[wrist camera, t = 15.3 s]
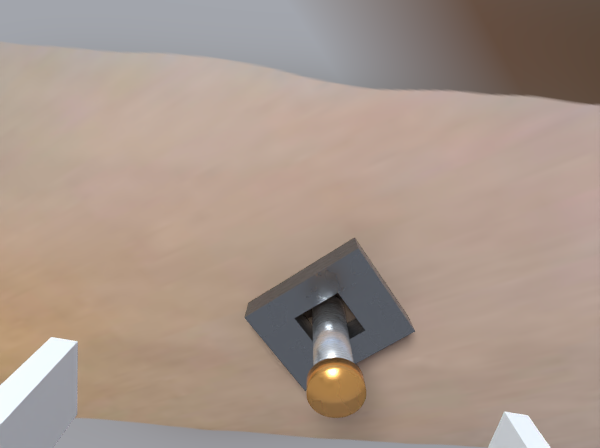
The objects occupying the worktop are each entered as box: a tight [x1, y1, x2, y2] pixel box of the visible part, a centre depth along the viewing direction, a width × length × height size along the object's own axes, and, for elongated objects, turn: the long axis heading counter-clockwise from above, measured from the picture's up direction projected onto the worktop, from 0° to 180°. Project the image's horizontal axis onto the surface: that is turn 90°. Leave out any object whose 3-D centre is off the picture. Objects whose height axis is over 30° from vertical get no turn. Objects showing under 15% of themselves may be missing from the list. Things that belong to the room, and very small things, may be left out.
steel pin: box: [307, 296, 366, 418], centre depth 37 cm, size 5×5×13 cm
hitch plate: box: [245, 238, 415, 391], centre depth 42 cm, size 11×14×3 cm
